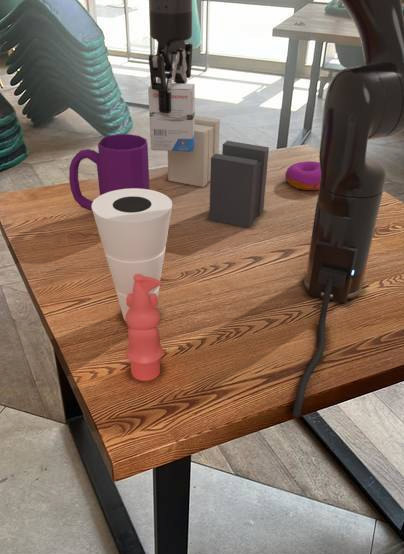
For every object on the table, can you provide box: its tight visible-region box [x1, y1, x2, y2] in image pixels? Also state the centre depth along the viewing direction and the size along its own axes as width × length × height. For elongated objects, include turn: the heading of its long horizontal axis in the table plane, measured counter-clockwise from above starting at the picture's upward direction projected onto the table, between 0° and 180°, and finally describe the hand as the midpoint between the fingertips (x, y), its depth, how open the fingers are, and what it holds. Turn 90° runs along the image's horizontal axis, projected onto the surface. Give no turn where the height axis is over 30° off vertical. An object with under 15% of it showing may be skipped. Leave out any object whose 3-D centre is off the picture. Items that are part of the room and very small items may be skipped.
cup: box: [91, 188, 173, 322], centre depth 82 cm, size 11×11×18 cm
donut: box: [284, 160, 321, 191], centre depth 126 cm, size 10×10×5 cm
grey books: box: [208, 140, 270, 229], centre depth 111 cm, size 8×9×13 cm
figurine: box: [124, 274, 164, 382], centre depth 73 cm, size 5×5×15 cm
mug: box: [68, 133, 151, 212], centre depth 109 cm, size 9×16×15 cm, turn 83°
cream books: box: [167, 115, 221, 188], centre depth 127 cm, size 8×9×12 cm
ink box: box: [147, 82, 196, 152], centre depth 113 cm, size 8×5×12 cm, turn 84°
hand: (172, 107), depth 112 cm, fingers closed on ink box, 5 cm apart
